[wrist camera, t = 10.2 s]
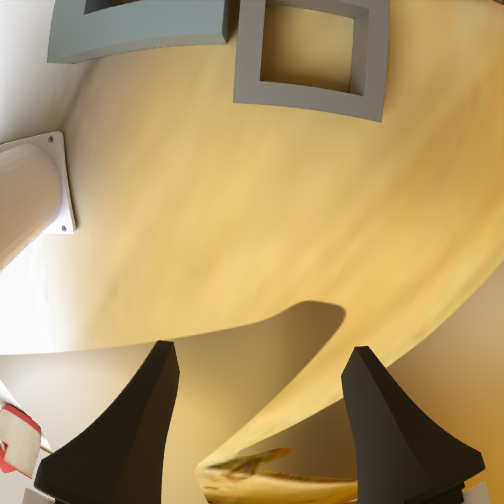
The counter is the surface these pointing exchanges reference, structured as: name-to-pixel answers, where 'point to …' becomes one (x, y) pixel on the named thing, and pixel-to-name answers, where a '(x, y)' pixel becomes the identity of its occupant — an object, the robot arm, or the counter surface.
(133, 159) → the counter surface
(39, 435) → the citrus juicer
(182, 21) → the socket block
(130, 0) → the steel pin
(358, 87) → the pin mount
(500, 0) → the cup
